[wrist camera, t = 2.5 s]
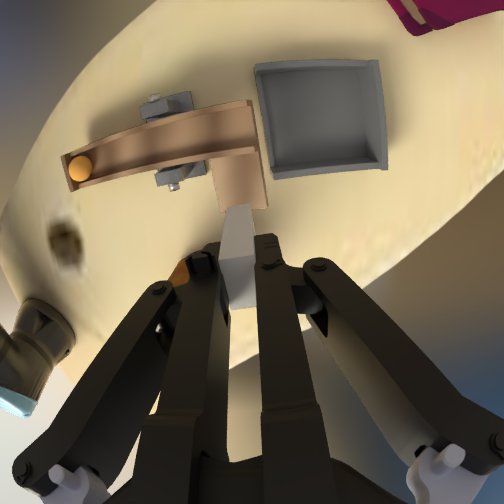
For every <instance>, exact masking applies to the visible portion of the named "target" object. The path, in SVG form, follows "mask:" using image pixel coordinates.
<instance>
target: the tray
mask: <svg viewBox="0 0 504 504" xmlns="http://www.w3.org/2000/svg"><path fill="white" fill-rule="evenodd" d="M254 73H255V79H256V85H257V91H258V96H259V102H260V108H261V115H262V121H263V127H264V133H265V140H266V146H267V153H268V160H269V166H270V173H271V175H272V177H273V179H274V180H278V179H285V178H293V177H300V176H308V175H317V174H326V173H335V172H345V171H356V170H368V169H381V170H388V149H387V131H386V118H385V107H384V98H383V89H382V82H381V75H380V68H379V62H378V60H369V61H365V60H339V59H321V60H295V61H281V62H270V63H261V64H255V67H254Z"/></svg>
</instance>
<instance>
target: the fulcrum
mask: <svg viewBox="0 0 504 504" xmlns="http://www.w3.org/2000/svg"><path fill="white" fill-rule="evenodd" d="M149 101H150V102H147V103H144V106H142V107H139V108H140V113H141V118H142V119H147V123H149V122H153V121H156V120H159V119H163V118H166V117H170V116H173V115H177V114H181V113H185V112H189V111H193V110H194V108H193V103H192V97H191V92H190V91H187V92H183V93H179V94H175V95H171V96H168V97H164V98H160V93H157V94H153V95H150V96H149ZM206 174H207V173H206V168H205V163H204V160H201V161H195V162H190V163H184V164H179V165H174V166H169V167H164V168H159V169H158V172H157V173H156V174H154V175H155V179H156V183H157V187H158V186H162V185H167V184H168V187H169V191H176V190H178V189H180V186H179V182H180V181H184V180H185V179H187V178H192V177H197V176H202V175H206Z"/></svg>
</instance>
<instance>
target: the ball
mask: <svg viewBox="0 0 504 504" xmlns="http://www.w3.org/2000/svg"><path fill="white" fill-rule="evenodd" d="M91 172H92V163H91V161H90V159H89V158H87V157H85V156H78V157H76V158H74V159H73V160H72V161H71V163H70V165H69V174H70V176H71V178H72V179H73V180H75V181H84V180H86V179H87V178H88V177H89V176H90V174H91Z"/></svg>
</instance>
